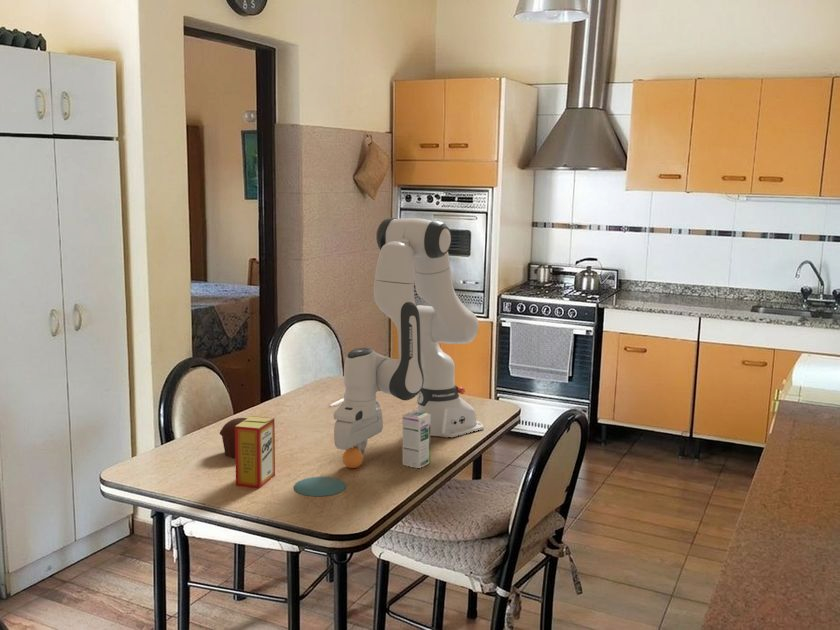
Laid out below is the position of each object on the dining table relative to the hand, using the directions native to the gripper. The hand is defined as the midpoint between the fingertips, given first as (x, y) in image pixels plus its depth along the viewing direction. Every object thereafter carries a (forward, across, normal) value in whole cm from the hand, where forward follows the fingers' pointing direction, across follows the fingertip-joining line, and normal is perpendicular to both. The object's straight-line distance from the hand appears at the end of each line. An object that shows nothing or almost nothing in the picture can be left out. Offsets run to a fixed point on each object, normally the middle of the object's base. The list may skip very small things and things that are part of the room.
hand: (359, 456), depth 227 cm
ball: (-1, +4, 0) cm, 4 cm away
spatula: (+2, -57, -36) cm, 68 cm away
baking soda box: (+2, +25, -16) cm, 30 cm away
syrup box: (+2, -7, +14) cm, 16 cm away
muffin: (+2, +10, -33) cm, 35 cm away
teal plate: (+2, +20, 0) cm, 20 cm away
